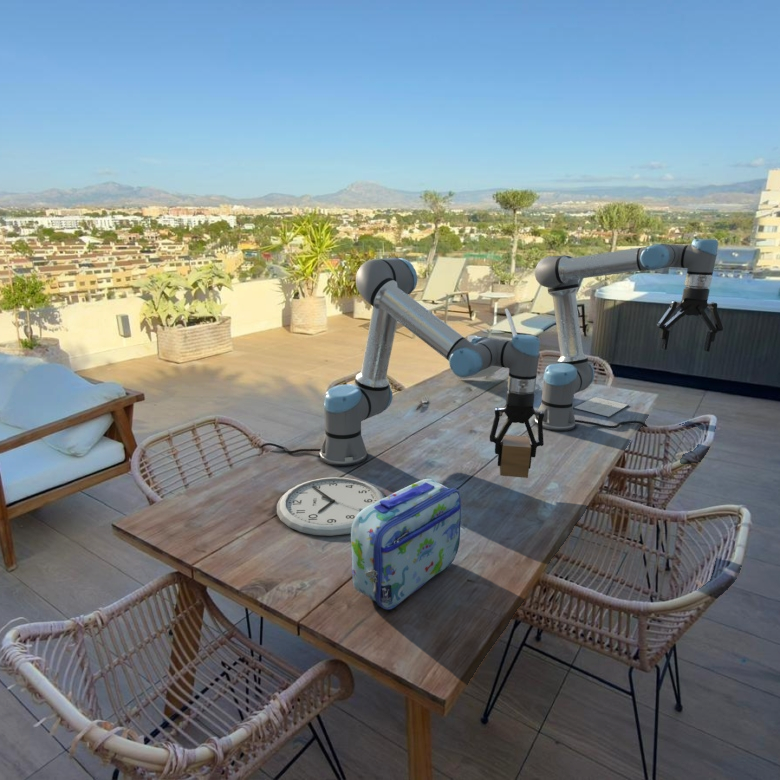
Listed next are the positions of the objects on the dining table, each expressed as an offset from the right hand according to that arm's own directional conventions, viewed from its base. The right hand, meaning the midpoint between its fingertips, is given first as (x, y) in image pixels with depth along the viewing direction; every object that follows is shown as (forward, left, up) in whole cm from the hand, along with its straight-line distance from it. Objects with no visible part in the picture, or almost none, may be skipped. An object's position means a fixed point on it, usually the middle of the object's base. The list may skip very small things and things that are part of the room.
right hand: (685, 349), depth 180 cm
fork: (+91, -25, -34) cm, 101 cm away
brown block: (+60, +44, -29) cm, 80 cm away
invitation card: (+14, -36, -34) cm, 52 cm away
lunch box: (+87, +92, -34) cm, 131 cm away
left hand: (+60, +44, -27) cm, 80 cm away
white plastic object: (+59, -59, -34) cm, 91 cm away
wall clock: (+110, +63, -34) cm, 131 cm away
